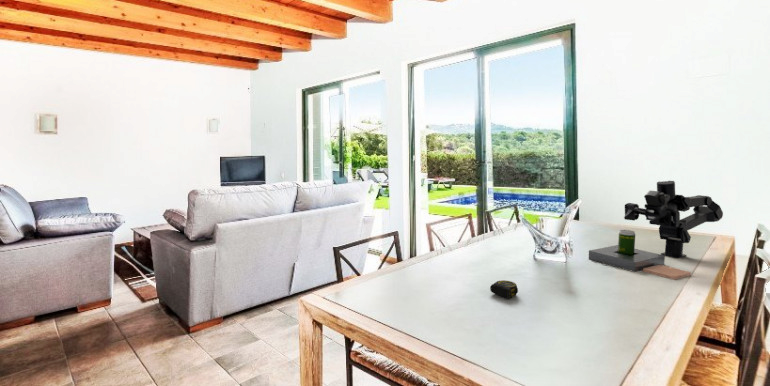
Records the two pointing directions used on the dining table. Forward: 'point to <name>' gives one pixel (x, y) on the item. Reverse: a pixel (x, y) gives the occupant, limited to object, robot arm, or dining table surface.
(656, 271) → the coaster
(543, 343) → the dining table surface
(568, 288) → the dining table surface
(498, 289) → the tape measure
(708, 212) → the robot arm
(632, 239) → the beer can
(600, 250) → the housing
